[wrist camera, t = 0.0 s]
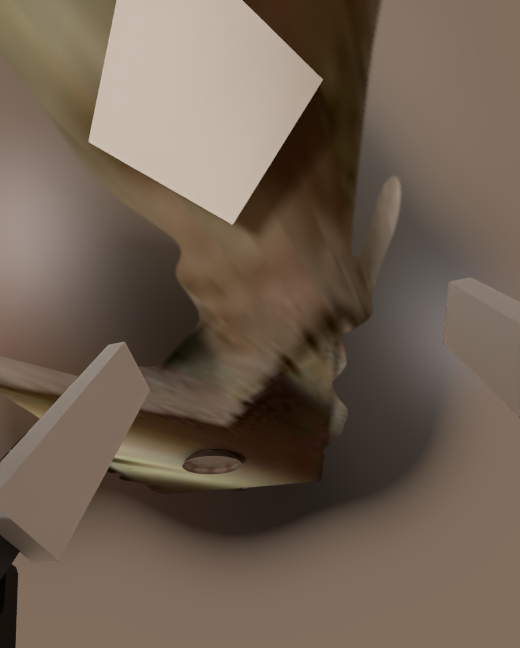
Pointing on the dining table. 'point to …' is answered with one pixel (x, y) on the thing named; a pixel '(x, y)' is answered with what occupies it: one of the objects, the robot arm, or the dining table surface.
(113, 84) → the stand
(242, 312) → the dining table surface
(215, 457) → the plant saucer
